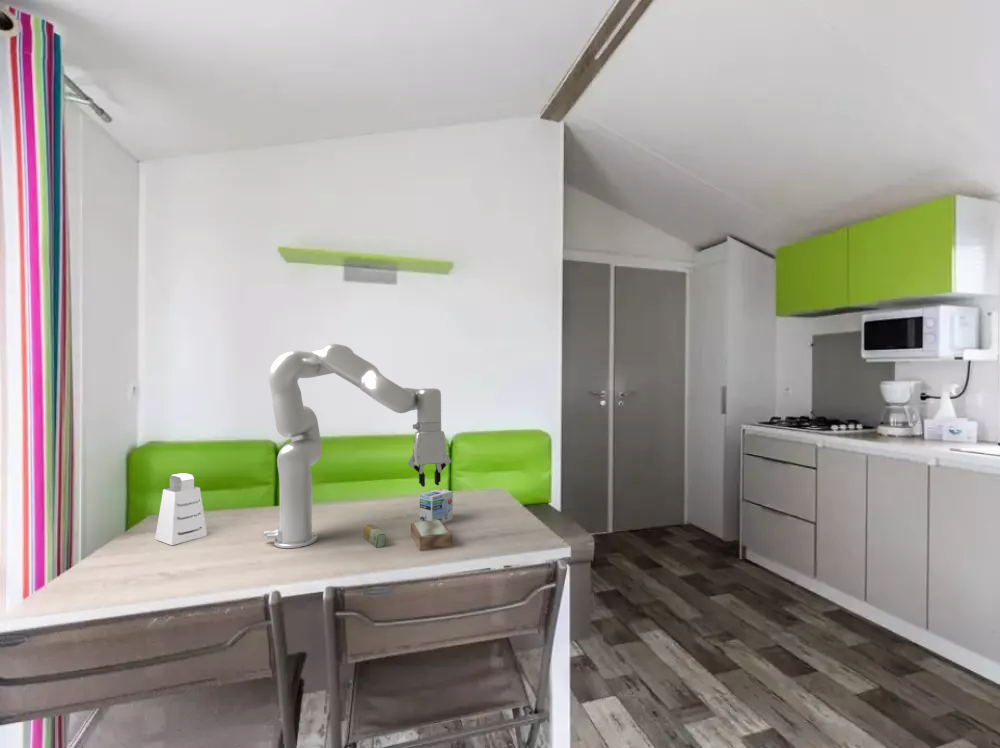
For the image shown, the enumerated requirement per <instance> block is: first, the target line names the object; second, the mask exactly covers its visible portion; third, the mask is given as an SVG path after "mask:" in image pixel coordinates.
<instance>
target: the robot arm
mask: <svg viewBox="0 0 1000 748" xmlns="http://www.w3.org/2000/svg"><path fill="white" fill-rule="evenodd" d="M331 374H332V375H333V374H335V375H337V376H339V377H340V378H341V379H343V380H345V381H347V382H348V383H350V384H352V385H354V386H355V387H357V388H358V389H360V391H362V392H364V393H365V394H366V395H368V396H369V397H371V398H372V399H373V400H374V401H376V402H378V403H379V404H381V405H383V406H384V407H386V408H387V409H389V410H391V411H393V412H395V413H397V414H398V413H399V414H405V413H407V412H408V413H409V412H410V411H416V412H417V414H416V415H417V419H416V421H417V422H416V423H415V424H412V430H413V429H414V430H416V432H414V433H415V434H414V438H413V447H412V448H413V449H412V455H411V456H410V458H409V460H408V462H407V466H409V467H411V468H412V469H414V470H415V471H416V472H417V473H418V483H419V484H420V486H421V488H423V487H425V486H426V477H425V476H426V475H425V472H424V469H425V465H435V471H434V484H435V485H436V486H439V485H440V482H441V479H442V478H441V472H443V470H444V469H445V467H447V466H448V465H449V464H451V463H452V460H451V458H450V457H449V455H448V454H447V443H446V435H445V431H443V430H442V392H441V390H440V389H439V388H421V389H419V388H418V389H417V388H411V387H404V388H403V387H402V386H400V385H399V384H397V383H395V382H394V381H392V380H391V379H389V378H387V377H386V376H384V375H383V374H382V373H381V372H380V370H379V368H377V366H375V364H373V363H371V362H370V361H368V360H365V359H364V358H362V356H359V355H357V354H356V353H354V351H353V350H352V348H350V347H348V346H347V345H342V344H338V343H332V344H329V345H326V346H325V347H324V348H323V349H320V350H312V351H302V350H293V351H292V350H291V351H288V352H285V353H283V354H281V355H279V356H278V357H277V358H276V359H275V360H274V361H273V362H272V364H271V367H270V369H269V374H268V382H269V383H268V384H269V387H270V393H271V398H272V407H273V413H274V419H275V420H274V421H275V426H276V431H277V432H278V433H279V435H281V436H282V437H284V438H290V441H291V442H288V443H286V444H285V445H284V446H282V448H280V450H279V452H278V454H277V458H276V463H277V465H276V466H277V470H278V479H279V481H278V483H279V484H278V485H279V519H278V520H279V526H278V528H275V529H274V530H265V531H263V538H265V539H267V540H269V539H270V540H271V539H273V545H274V546H275V547H277V548H279V549H280V548H281V549H295V548H303V547H305V546H309V545H312V544H313V543H315V542H316V541H317V540H318V534H317V533H315V532H313V477H312V476H313V475H312V472H311V466H314V465H315V464H316V463H317V462H319V460H320V458H321V457H322V454H323V453H322V452H323V447H322V442H321V434H320V427H319V421H318V417H317V414H316V413H315V411H313V409H311V407H309V406H308V405H307V406H305V405H304V403H303V396H302V391H301V389H300V388H301V387H300V385H299V382H298V380H299V379H309V378H316V377H320V376H324V375H325V376H327V375H331ZM302 546H303V547H302Z"/></svg>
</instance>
